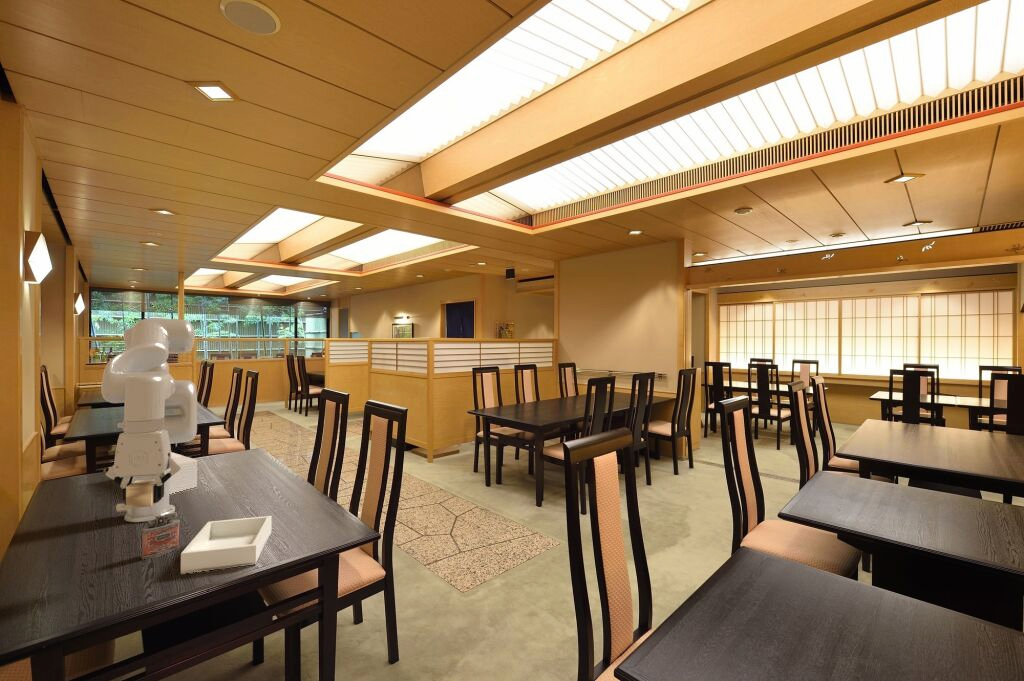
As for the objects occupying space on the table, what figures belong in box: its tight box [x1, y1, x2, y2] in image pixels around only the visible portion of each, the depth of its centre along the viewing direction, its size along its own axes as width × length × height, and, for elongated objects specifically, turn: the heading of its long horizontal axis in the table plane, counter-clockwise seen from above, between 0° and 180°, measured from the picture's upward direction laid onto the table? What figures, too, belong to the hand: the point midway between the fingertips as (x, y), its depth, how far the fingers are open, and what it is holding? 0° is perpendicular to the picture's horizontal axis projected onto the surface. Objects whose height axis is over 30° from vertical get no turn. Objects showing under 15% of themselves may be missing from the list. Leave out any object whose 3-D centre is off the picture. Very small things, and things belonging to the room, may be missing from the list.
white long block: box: [169, 451, 198, 495], centre depth 176 cm, size 32×11×11 cm, turn 58°
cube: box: [126, 479, 156, 508], centre depth 110 cm, size 5×5×5 cm
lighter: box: [141, 511, 181, 560], centre depth 120 cm, size 8×3×10 cm, turn 143°
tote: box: [180, 515, 273, 575], centre depth 121 cm, size 16×20×5 cm
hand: (143, 501), depth 110 cm, fingers closed on cube, 5 cm apart
